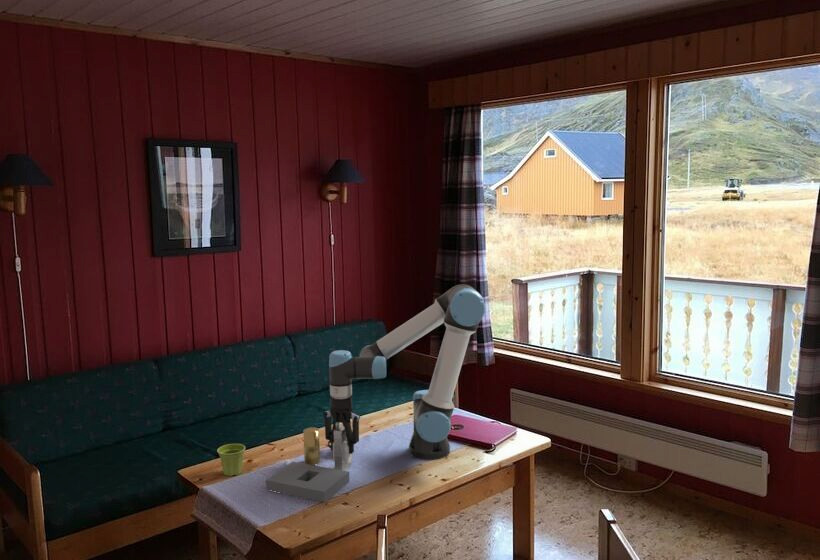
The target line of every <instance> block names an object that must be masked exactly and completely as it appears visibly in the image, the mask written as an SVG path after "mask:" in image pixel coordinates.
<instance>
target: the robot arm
mask: <svg viewBox="0 0 820 560" xmlns="http://www.w3.org/2000/svg"><path fill="white" fill-rule="evenodd" d="M485 313H486V303H485V300H484V298H483V296H482V295H481V294H480V292H478V291H477V290H476V289H475V288H474V287H473V286H471V285H468V284H463V283H461V284H457V285H455V286H452V287H451V288H450V289H448V290H446V292H444V293H443V294H442V295H440V296H438V297H436V298H435V300H434V303H433V304H431V305H430V306H428V307H427V308H425V309H424V310H422V311H421V312H419V313H417V314H416V315H415V316H413V317H412V318H410V319H409V320H407V321H405V322H404V323H403V324H401V325H399V326H398V327H396V328H394V329H393V330H392V331H390V332H389V333H387V334H385V335H384V336H382V337H381V338H379V339H378V340H376V341H375V342H374V343H371V344H370V345H366V346H364V347H362V349H360V351H359V352H360V353H359V356H353V355H352V353H351V352H350V351H349V350H344V349H340V350H339V349H338V350H333V351H332V352H330V354H329V355H328V356H329V361H328V363H329V364H328V372H329V373H328V374H329V393H330V394H329V396H330V398H329V402H330V403H329V405H330V408H329V409H327V410H325V411H324V412H323V413H322V415H323V418H324V430H325V431H324V432H325V433H324V434H325V436H324V437H325V440H327V441H329V440H330V442H331V443H330V446H331V448H330V451H332V461H333V462H335V460H334V430H335V429H336V428H338V427H339V426H340V424H341V423H342V425H343V426H344V428H345V433H346V437H347V441H348V444H347V445H346V463H350V462H351V463H352V461H353V453H354V452H355V445H356V444H357V443H358V442H360V418H361V415H360V414H356V413H354V410H353V384H352V383H353V382H352V380H362V379H363V380H372V379H373V380H378V379H384V378H386V377H387V360H389V358H391V357H393V356H394V355H396V354H398V353H400V352H401V351H402V350H404V349H405V348H407V347H408V346H410V345H412V344H413V343H414V342H416V341H417V340H419V339H421V338H422V337H424V336H425V335H427V334H428V333H430V332H431V331H433V330H434V329H437V328H438V327H440V326H441V325H443V324H444V326H445V332H444V335H443V339H442V342H441V346H440V349H439V354H438V356H437V360H436V363H435V367H434V371H433V373H432V377H431V381H430V384H429V387H428V389H423V390H422V389H421V390H417V391H415V392H414V393H413V397H412V404H413V407H412V408H413V409H412V410H413V411H412V412H413V413H412V415H413V432H412V435H411V438H410V441H409V445H408V450H409V451H408V453H409V454H410V455H411V456H412V457H414V458H417V459H421V460H437V459H442V458H445V457H447V456H448V455H450V453H451V446H450V442H449V440H448V436H449V434H450V432H451V428H452V427H451V426H452V423H451V419H452V417H453V413H454V409H455V404H454V402H453V397H454V393H455V390H456V386H457V384H458V383H457V382H458V380H459V376H460V372H461V369H462V366H463V363H464V358H465V356H466V351H467V348H468V345H469V342H470V338H471V335H473V334H474V333H476V332H478V331H477V329H478V328H479V324H480V322H481V321H482V320H483V319H484V315H485ZM332 419H333V420H332ZM351 421H352V422H351Z"/></svg>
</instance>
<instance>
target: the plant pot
mask: <svg viewBox="0 0 820 560" xmlns="http://www.w3.org/2000/svg"><path fill="white" fill-rule="evenodd" d="M245 450H246V446H245V445H244V444H241V443H228V444H224V445H222V446H220V447H218V448H217V451H216V453H218V455H219V457H220V462H221V466H222V467H221V468H222V473H223V474H224V475H225V476H227V477H231V476H234V475H235V476H237V475H239V474H241V473H242V471H243V461H244V453H245Z"/></svg>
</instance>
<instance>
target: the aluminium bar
mask: <svg viewBox="0 0 820 560" xmlns="http://www.w3.org/2000/svg"><path fill="white" fill-rule="evenodd" d="M347 444H348V441H347V437H346V433H345V428H344V426H343V424H341V425H339V427H338V428H336V429H335V430H334V460H335V461H334V469H336V470H342V471H345V470H346V469H347V470H348V468H349V467H350V466H351V467H352V464H351V463H352V461H351V462H350V463H346V445H347ZM351 467H350V468H351ZM350 468H349V469H350ZM347 470H346V471H347Z"/></svg>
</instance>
